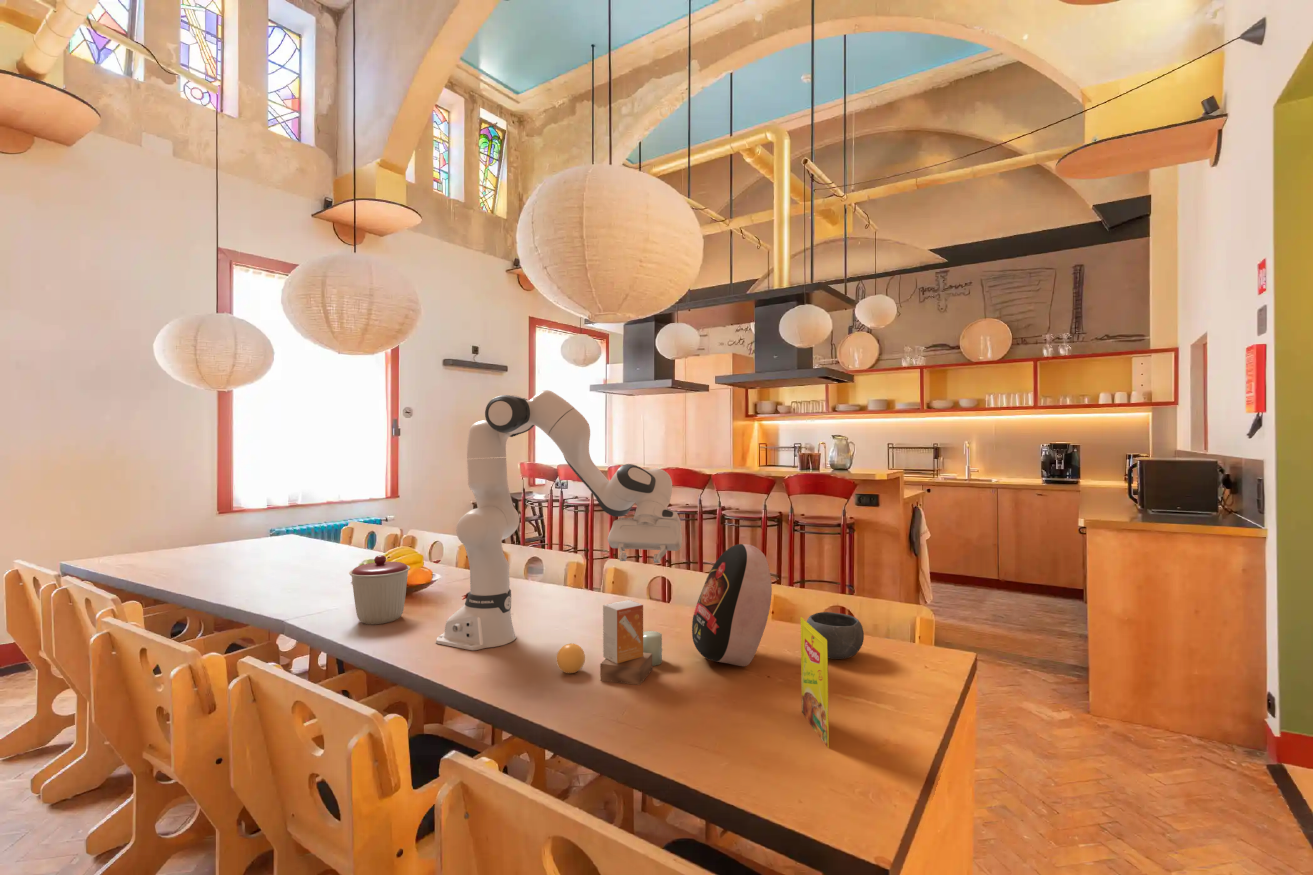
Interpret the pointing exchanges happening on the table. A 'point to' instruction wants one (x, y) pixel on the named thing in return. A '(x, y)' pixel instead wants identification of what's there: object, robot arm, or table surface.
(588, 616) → the table surface
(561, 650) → the orange
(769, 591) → the packaged food
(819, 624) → the bowl
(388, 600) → the canister
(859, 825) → the table surface
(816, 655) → the food package
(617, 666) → the brown block
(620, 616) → the small box
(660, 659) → the pale green cylinder
